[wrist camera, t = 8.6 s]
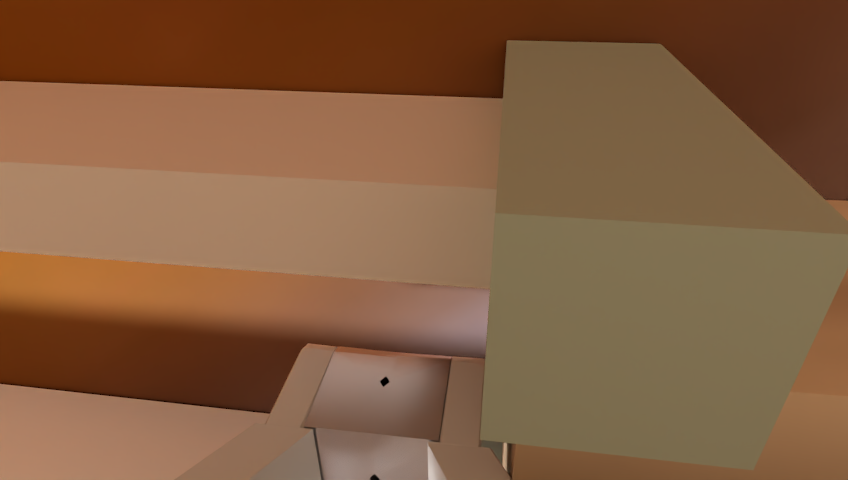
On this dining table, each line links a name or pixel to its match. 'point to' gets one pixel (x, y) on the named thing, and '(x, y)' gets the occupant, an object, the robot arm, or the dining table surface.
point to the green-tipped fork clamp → (448, 244)
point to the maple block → (785, 448)
